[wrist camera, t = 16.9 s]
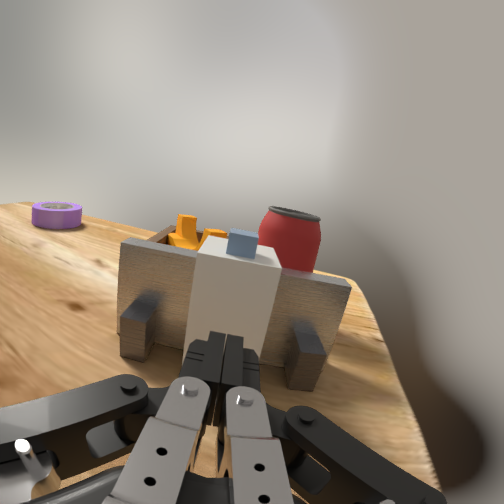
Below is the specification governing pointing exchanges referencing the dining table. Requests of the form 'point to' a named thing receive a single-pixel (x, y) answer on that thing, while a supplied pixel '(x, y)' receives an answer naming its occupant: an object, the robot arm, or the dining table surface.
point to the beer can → (291, 237)
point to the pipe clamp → (190, 233)
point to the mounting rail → (178, 299)
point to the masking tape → (56, 215)
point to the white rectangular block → (233, 289)
